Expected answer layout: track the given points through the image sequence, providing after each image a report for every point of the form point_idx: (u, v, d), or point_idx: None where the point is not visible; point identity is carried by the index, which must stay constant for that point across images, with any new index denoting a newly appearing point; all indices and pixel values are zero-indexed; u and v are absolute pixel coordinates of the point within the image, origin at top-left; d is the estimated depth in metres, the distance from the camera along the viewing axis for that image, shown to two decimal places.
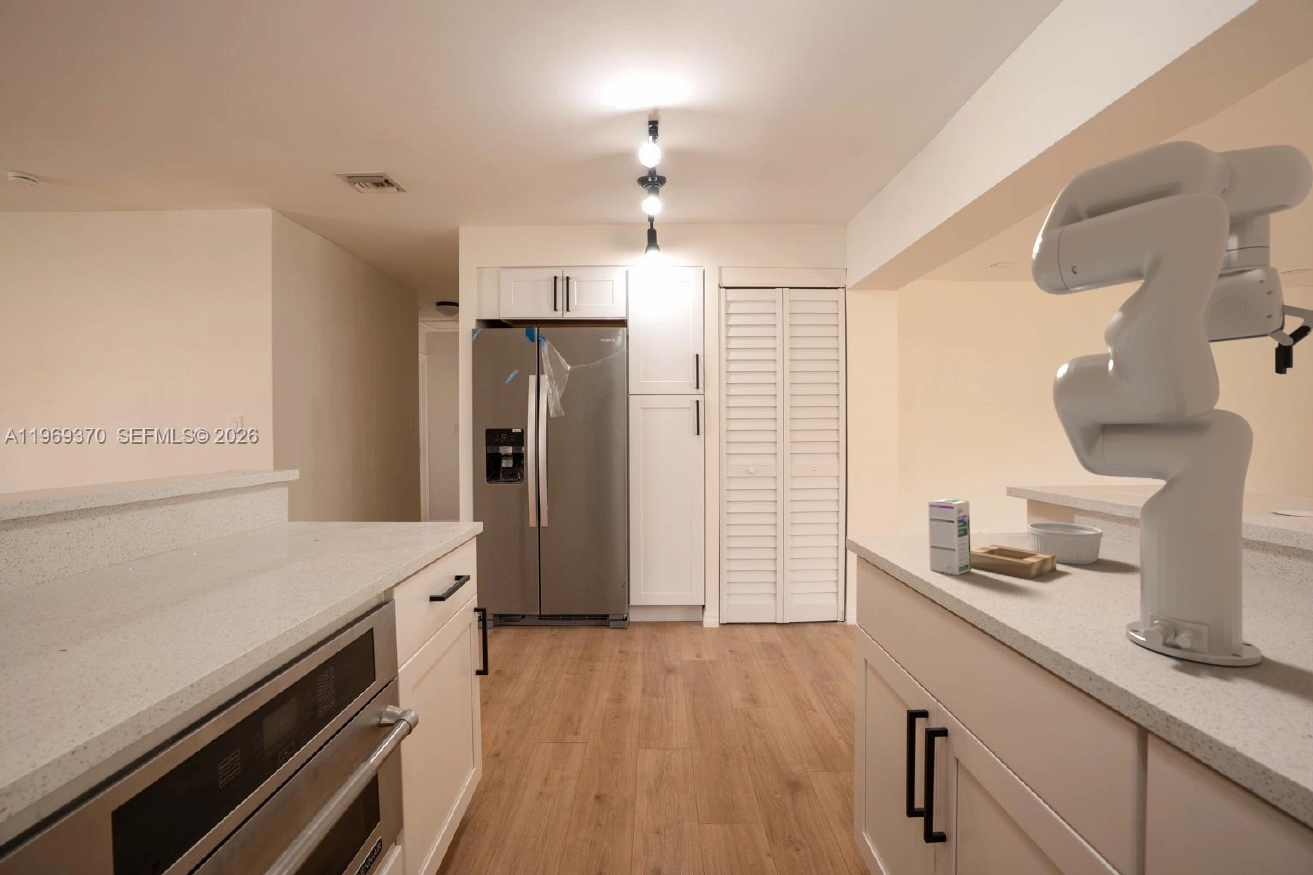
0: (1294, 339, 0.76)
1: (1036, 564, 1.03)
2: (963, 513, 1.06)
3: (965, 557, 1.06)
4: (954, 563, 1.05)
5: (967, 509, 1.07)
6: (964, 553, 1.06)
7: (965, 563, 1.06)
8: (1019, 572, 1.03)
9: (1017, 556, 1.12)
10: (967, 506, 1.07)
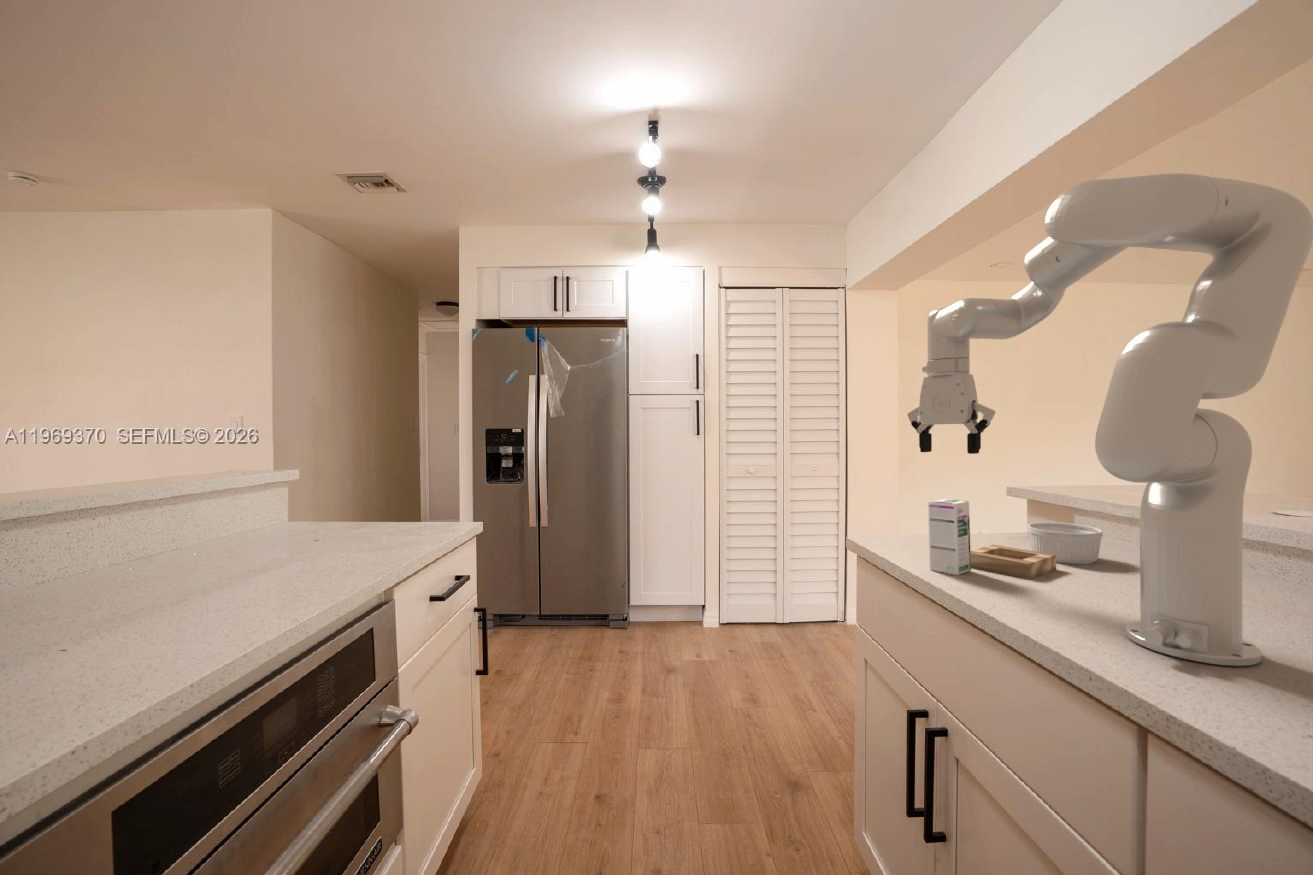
0: (978, 428, 1.02)
1: (1036, 564, 1.03)
2: (962, 513, 1.06)
3: (965, 557, 1.06)
4: (954, 563, 1.05)
5: (967, 509, 1.07)
6: (964, 553, 1.06)
7: (965, 563, 1.06)
8: (1019, 572, 1.03)
9: (1017, 556, 1.12)
10: (967, 506, 1.07)
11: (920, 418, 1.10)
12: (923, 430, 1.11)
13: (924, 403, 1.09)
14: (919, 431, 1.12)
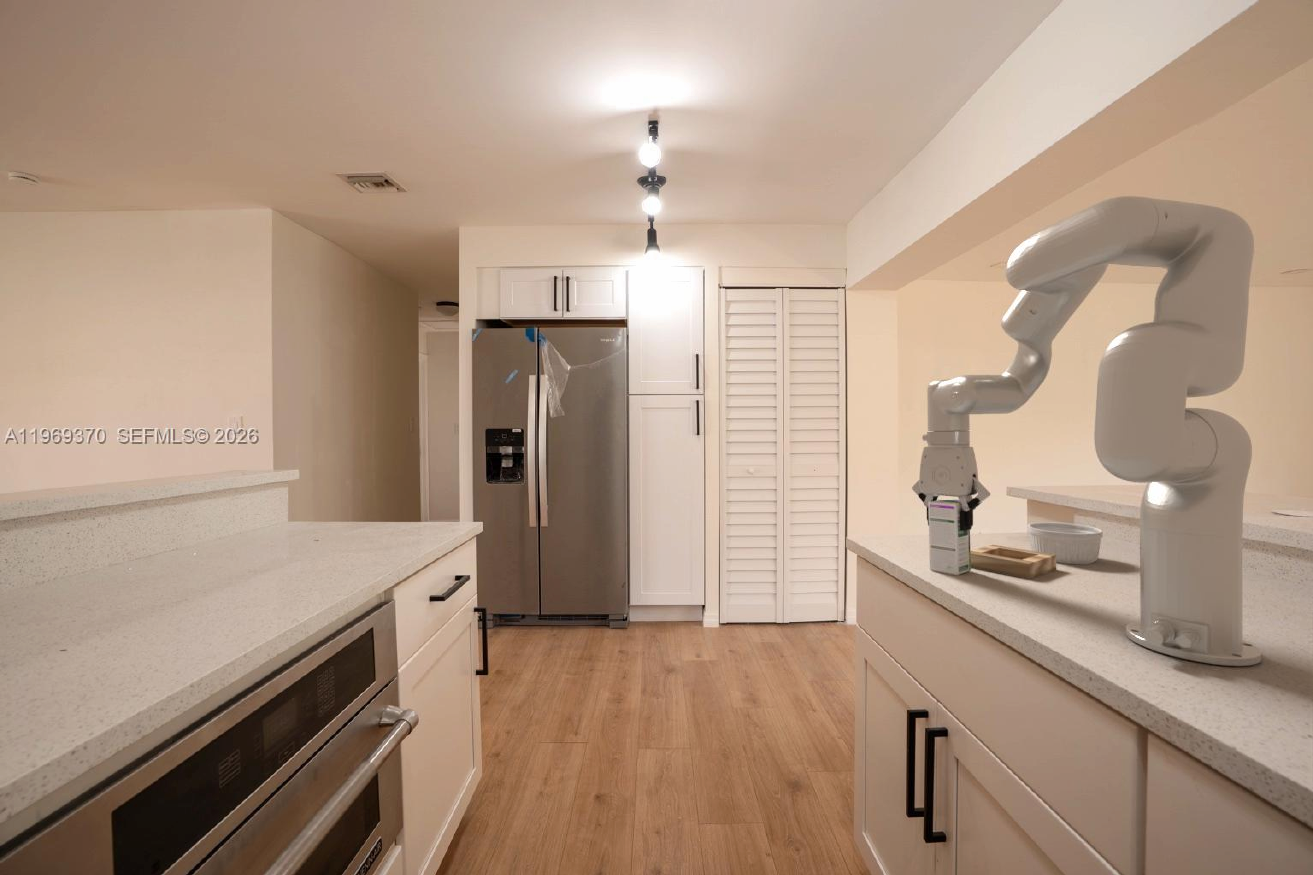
0: (970, 506, 1.04)
1: (1036, 564, 1.03)
2: None
3: (965, 557, 1.06)
4: (954, 563, 1.05)
5: None
6: (964, 553, 1.06)
7: (965, 563, 1.06)
8: (1019, 572, 1.03)
9: (1017, 556, 1.12)
10: None
11: (920, 487, 1.10)
12: None
13: (925, 472, 1.09)
14: (927, 504, 1.11)
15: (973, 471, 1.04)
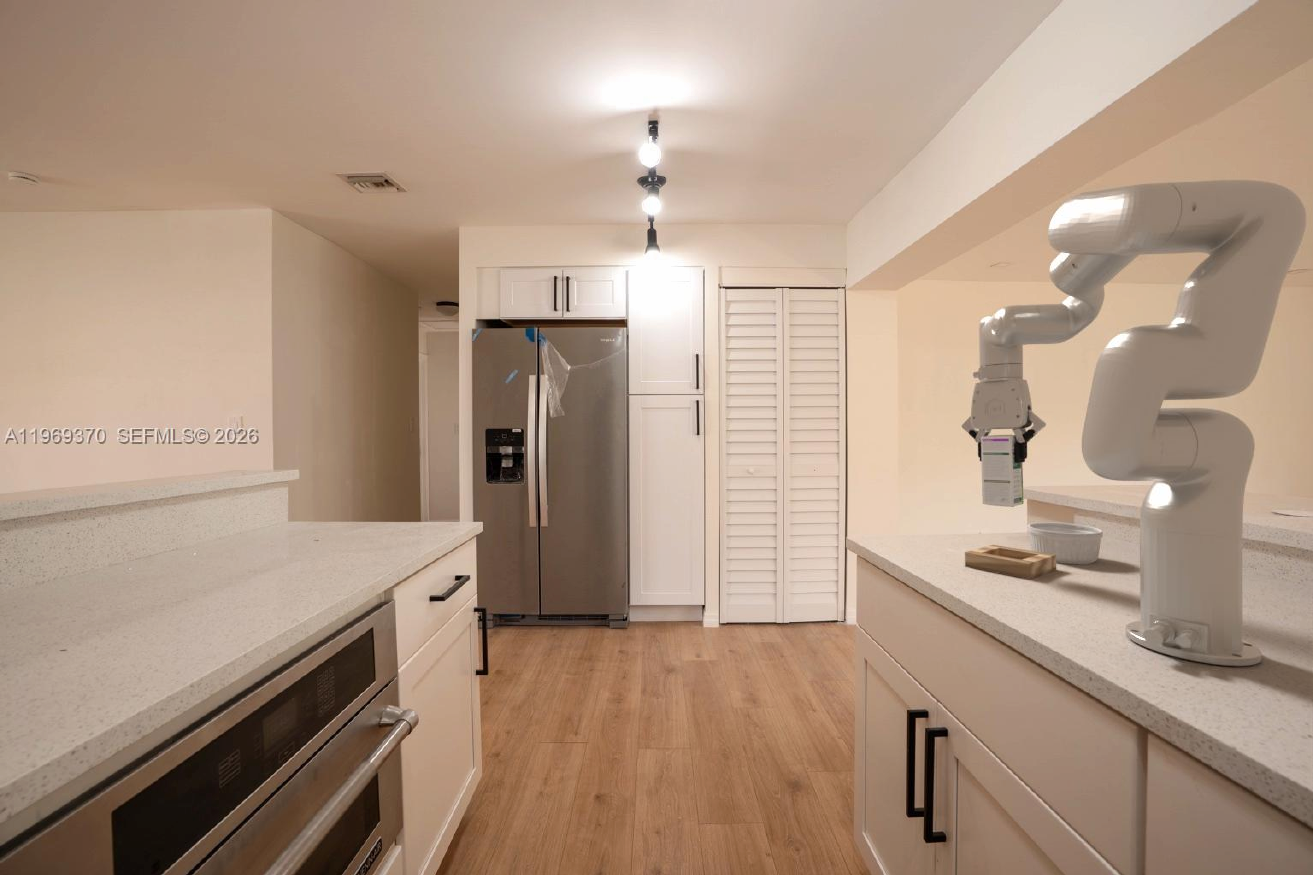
0: (1025, 438, 1.05)
1: (1036, 564, 1.03)
2: None
3: (1019, 489, 1.07)
4: (1009, 495, 1.06)
5: None
6: (1018, 486, 1.07)
7: (1019, 495, 1.07)
8: (1019, 572, 1.03)
9: (1017, 556, 1.12)
10: None
11: (972, 423, 1.11)
12: None
13: (977, 408, 1.10)
14: (978, 440, 1.12)
15: (1028, 403, 1.05)
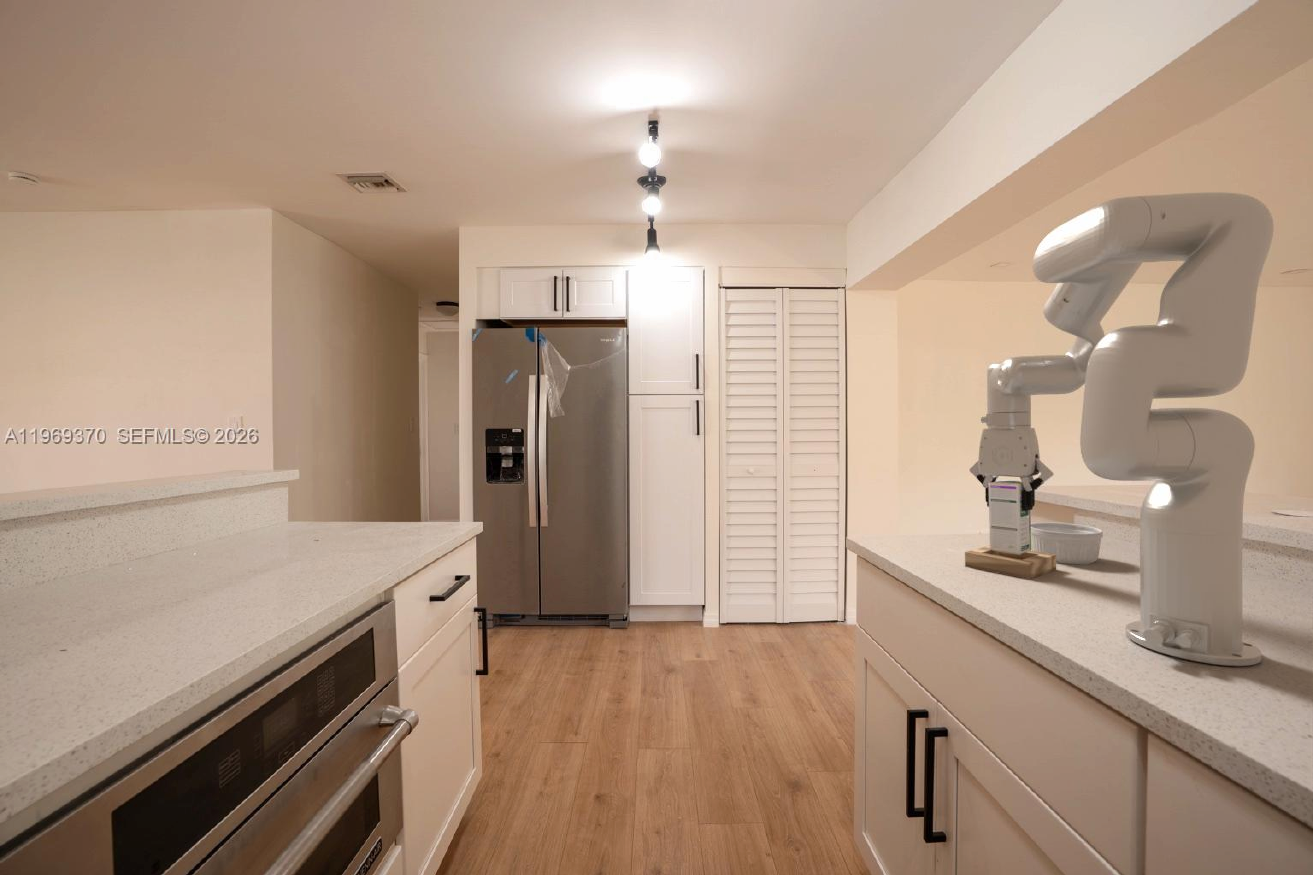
0: (1033, 486, 1.05)
1: (1036, 564, 1.03)
2: None
3: (1026, 537, 1.07)
4: (1016, 542, 1.06)
5: None
6: (1025, 533, 1.07)
7: (1027, 542, 1.07)
8: (1019, 572, 1.03)
9: (1017, 556, 1.12)
10: None
11: (980, 468, 1.12)
12: None
13: (985, 454, 1.11)
14: (986, 485, 1.12)
15: (1036, 451, 1.05)
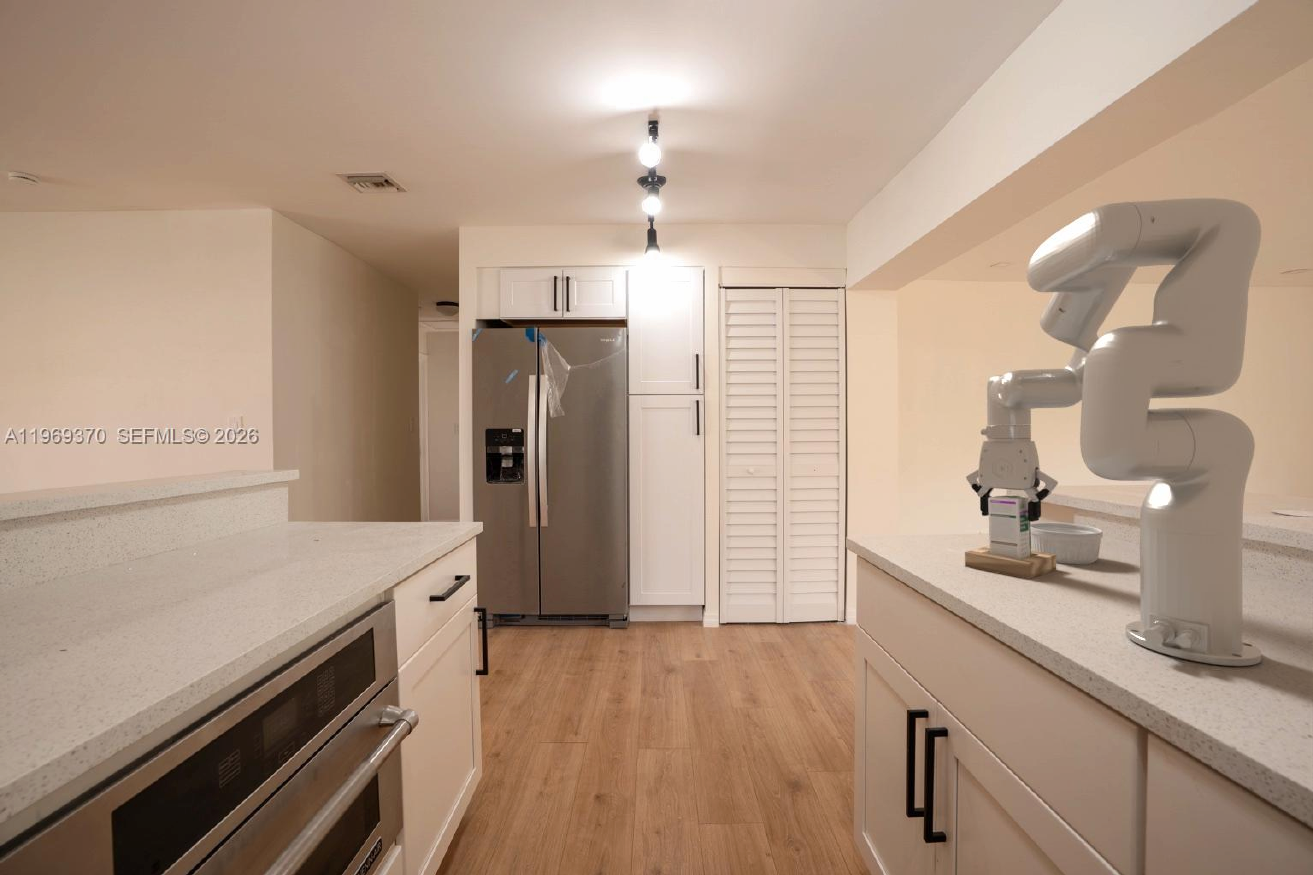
0: (1039, 497, 1.04)
1: (1036, 564, 1.03)
2: (1024, 509, 1.07)
3: (1026, 552, 1.07)
4: (1016, 558, 1.06)
5: None
6: (1026, 548, 1.07)
7: None
8: (1019, 572, 1.03)
9: None
10: None
11: (980, 481, 1.12)
12: (984, 494, 1.12)
13: (985, 466, 1.11)
14: (980, 495, 1.13)
15: (1036, 465, 1.05)
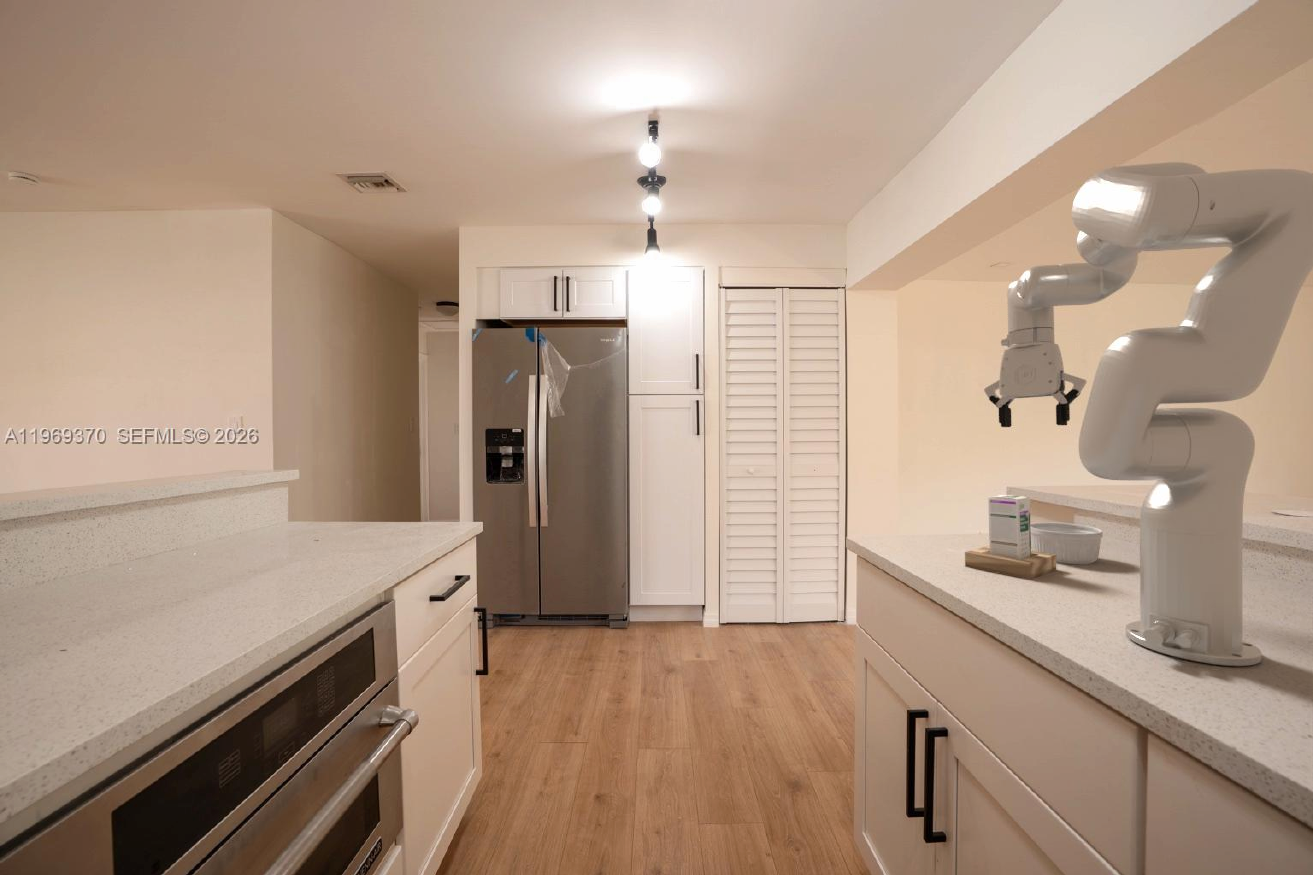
0: (1068, 399, 0.99)
1: (1036, 564, 1.03)
2: (1024, 509, 1.07)
3: (1026, 552, 1.07)
4: (1016, 558, 1.06)
5: (1028, 504, 1.08)
6: (1026, 548, 1.07)
7: None
8: (1019, 572, 1.03)
9: None
10: (1028, 502, 1.08)
11: (1001, 391, 1.07)
12: (1003, 404, 1.08)
13: (1006, 375, 1.06)
14: (999, 405, 1.09)
15: (1061, 368, 1.01)
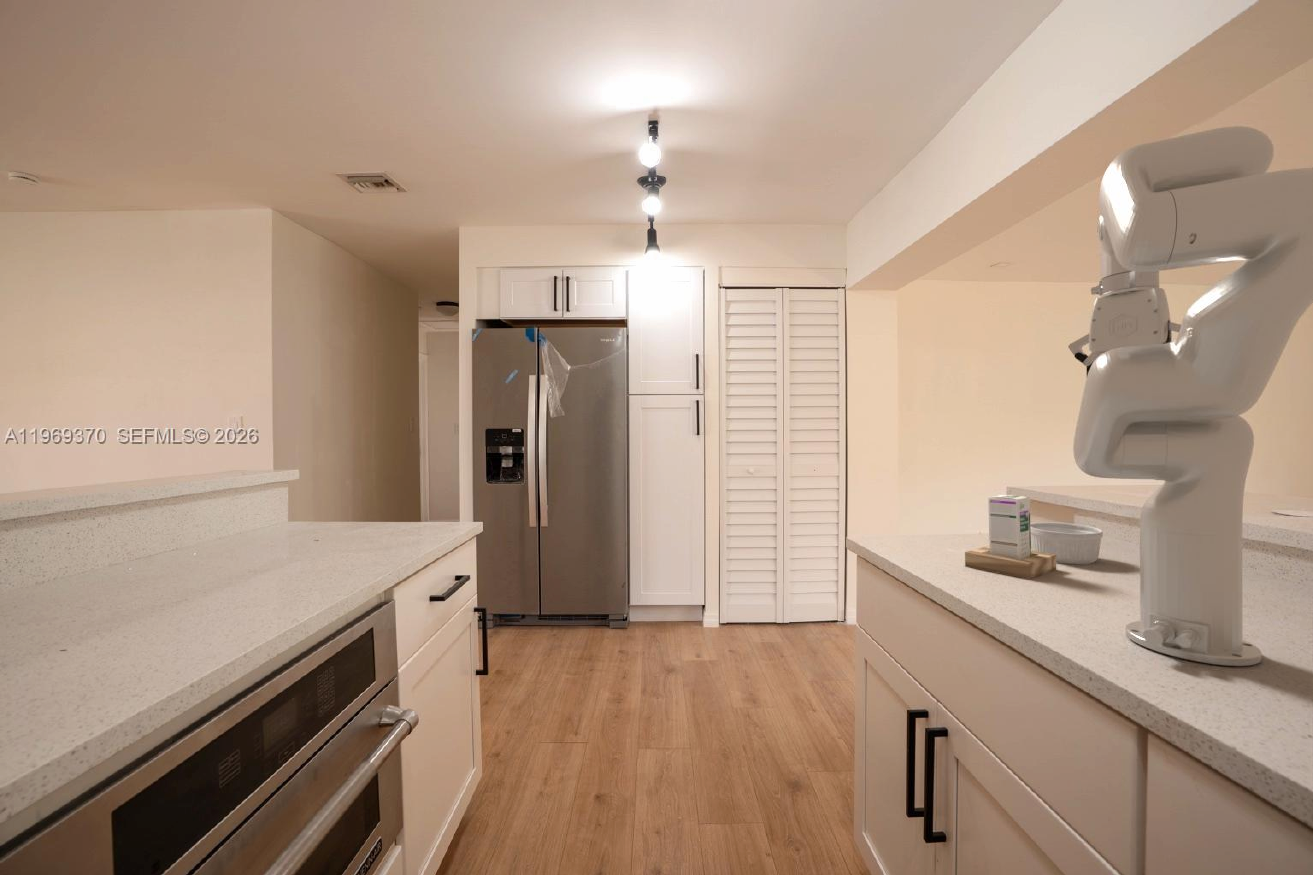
0: None
1: (1036, 564, 1.03)
2: (1024, 509, 1.07)
3: (1026, 552, 1.07)
4: (1016, 558, 1.06)
5: (1028, 504, 1.08)
6: (1026, 548, 1.07)
7: None
8: (1019, 572, 1.03)
9: None
10: (1028, 502, 1.08)
11: (1091, 347, 0.93)
12: (1093, 362, 0.95)
13: (1098, 328, 0.92)
14: (1087, 363, 0.95)
15: (1168, 317, 0.87)
